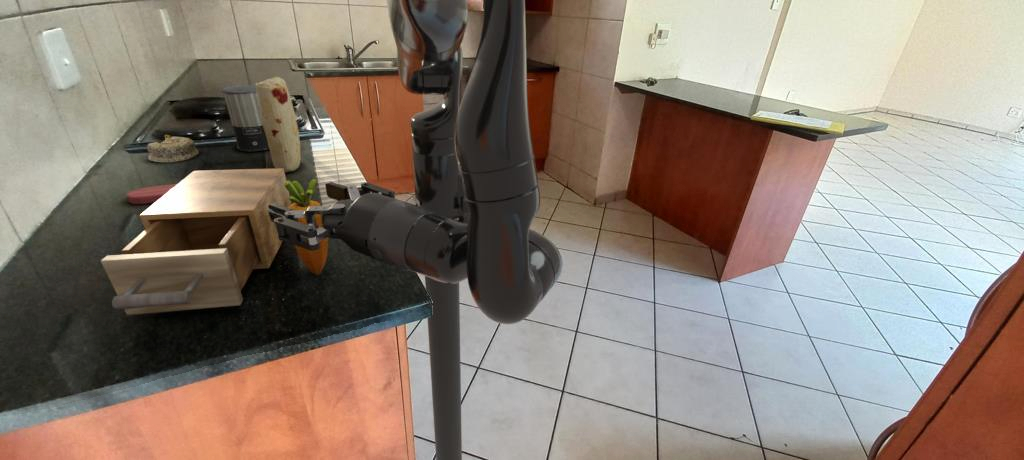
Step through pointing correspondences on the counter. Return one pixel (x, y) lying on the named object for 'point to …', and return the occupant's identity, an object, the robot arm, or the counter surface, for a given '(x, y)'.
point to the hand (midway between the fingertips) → (301, 199)
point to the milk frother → (246, 117)
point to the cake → (172, 149)
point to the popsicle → (148, 194)
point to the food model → (279, 123)
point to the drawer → (184, 265)
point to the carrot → (302, 202)
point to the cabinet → (228, 202)
